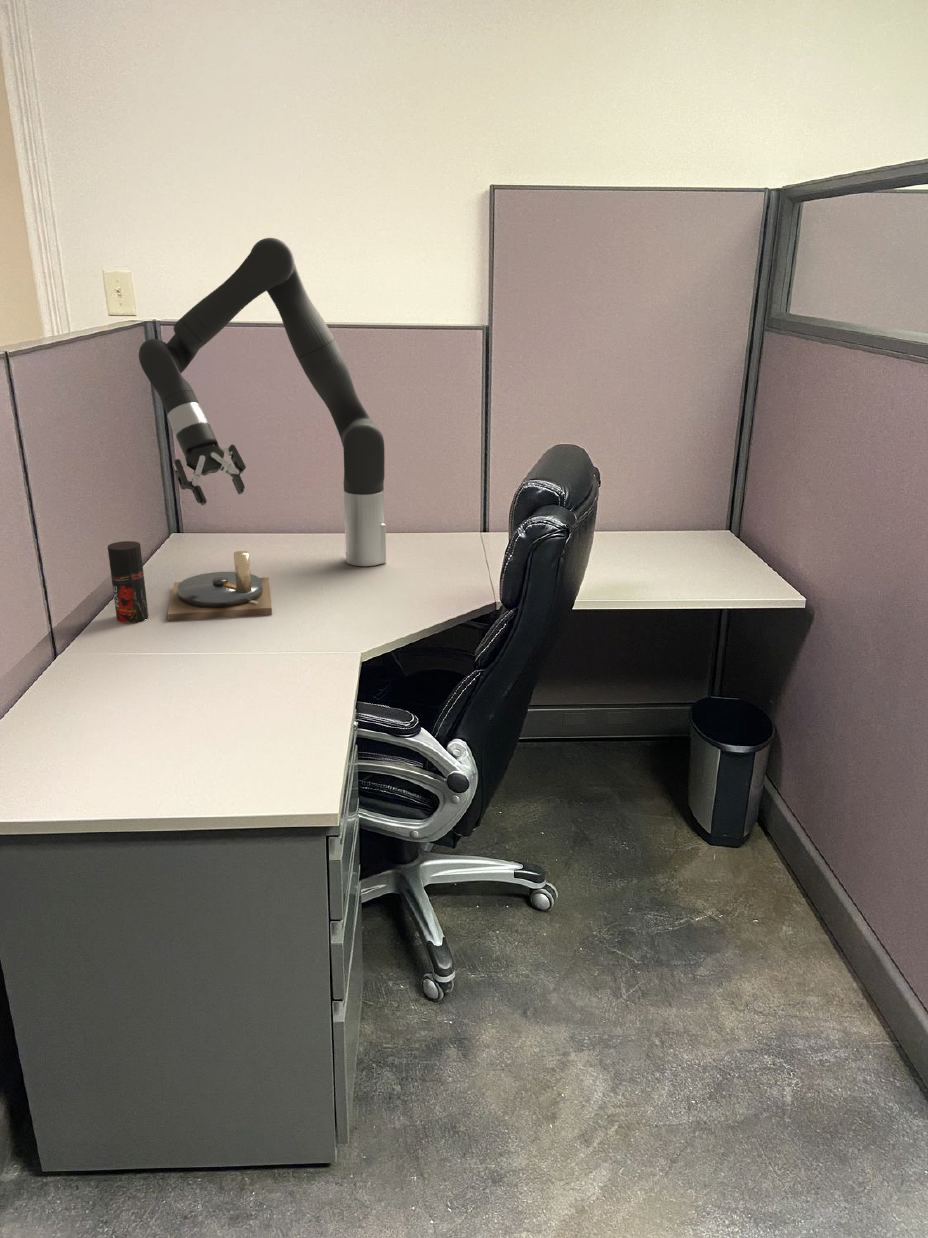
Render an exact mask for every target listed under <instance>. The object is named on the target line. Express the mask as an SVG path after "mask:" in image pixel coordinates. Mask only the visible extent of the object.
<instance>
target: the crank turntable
mask: <svg viewBox="0 0 928 1238" xmlns="http://www.w3.org/2000/svg"><path fill="white" fill-rule="evenodd" d="M233 561H234V563H233V564H234V571H214V572H207V573H202V574H201V573H200V574H197V575H193V576H190V577H188V578H186V579H183V580H182V581H179V582H180V584H179V585H178V595H179V599H180V600H181V601H182V602H184V603H186V604H189V605H194V606H200V607H226V606H233V605H239V604H243V603H247V602H250V601H252V600H254V599H256V598H258V597H259V596H260V595H261V594H262V593H263V587H262V580H261V579H260V578H261V577H259V576H257V575H255V574H252V573H251V567H250V565H251V563H250V562H251V561H250V552H249V551H247V550H238V551H234V552H233Z"/></svg>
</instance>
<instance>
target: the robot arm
mask: <svg viewBox="0 0 928 1238" xmlns="http://www.w3.org/2000/svg"><path fill="white" fill-rule="evenodd" d="M243 260H244V261H243V262H242V263H241V264H240V265H239V267H238V268H237V269H236V270H235V271H234V272H233V273H232V274H231V275H230V276H229V277H228V278H227V279H226V280H225V281H224V282H223V283H222V284H220V285H219V286H217V288H216V289H214V290H213V291H211V292H210V293H209V294H208V295H206V296H205V297H203V298H202V299H201V300H200V301H199V302H197V303H196V304H195V305H194V306H193V307H192V308H190V309H189V310H188V311H186V313H185V314H184V315H182V317H180V318H179V319H178V320H177V321H176V322H175V323H174V325H173V332H174V334H173V336H172V337H171V338H170V339H169V340H168V341H167V342H165V341H163V340H161V339H158V338H149V339H147V340H145V341H143V342H142V344H141V345H140V348H139V349H138V360H139V364H140V366H141V369H142V371H143V373H144V374H145V375H146V378H147V379H148V381H149V382H150V383H151V385H152V387H153V388H154V390H155V391H156V393H157V394H158V397H159V398H160V402H161V404H162V405H163V408H164V410H165V412H166V415H167V417H168V421H169V424H170V427H171V429H172V433H173V435H174V436H175V437H176V440H177V443H178V445H179V448H180V449H181V452H182V453H183V456H184V457H185V458H184V459H181V460H180V459H178V458H176V459H175V460H174V462H173V464H172V468H173V472H174V473H175V474H174V475H175V476H176V478H177V482H178V484H179V488H180V489H181V490H183V491H184V490H190V491H191V492H192V494H193V497H194V498H195V501H196V503H198V504H200V505H201V506H205V505H206V504H207V502H208V501H207V499H206V496H205V495H204V491H203V489H202V488H201V485H199V482H200V478H201V476H203V477H206V476H208V475H210V474H215V473H218V472H220V473H222V474H223V475H224V474H226V475H227V476H229V477H230V478H231V481H232V484H233V486H234V488H235V490H236V492H237V494H238V495H242V494H244V490H245V483H244V481H243V479H242V477H241V474H243V473H244V471H245V470H246V468H247V467H246V466H247V465H246V464H245V462H244V460H243V459H242V457H241V455H240V453H239V451H238V449H237V447H236V445H235V444H231V445H229V447H226V448H223V449H222V448H221V446H220V445H219V442H218V440H217V438H216V435H215V433H214V430H213V428H212V427H211V424H210V422H209V420H208V417H207V415H206V413H205V411H204V410H203V408H202V407H201V405H200V403H199V400H198V399H197V396H196V394H195V391H194V389H193V387H192V385H190V383H189V382H188V381H187V380H186V379H185V378H184V377H183V375H182V373H183V372H184V371H185V370H186V369H187V368H188V366H189V365H190V364H191V362H192V361H193V359H194V358H195V356H196V355H197V353H198V352H199V351H200V349H202V348H203V347H204V346H205V345H206V344H208V343H209V342H210V341H211V340H212V339H213V338H214V337H215V336H216V335H218V334H219V333H220V332H221V331H222V330H223V329H224V328H226V326H227V325H228V324H229V323H230V322H231V321H232V320H234V318H235V317H236V316H237V315H238V314H239V313H240V312H241V311H242V310H243V309H244V308H245V307H246V306H248V305H249V304H250V303H251V302H253V300H255V299H256V298H258V297H260V296H261V295H262V294H263V293H265V292H267V294H268V296H269V297H270V300H271V301H272V302H273V304H274V306H275V307H276V309H277V311H278V314H279V315H280V316H279V317H280V319H281V321H282V325H283V327H284V331H285V332H286V335H287V338H288V340H289V343H290V345H291V348H292V350H293V352H294V355H295V356H296V358H297V360H298V362H299V364H300V366H301V369H302V370H303V372H304V374H305V376H306V377H307V379H308V381H309V382H310V384H311V385H312V387H313V389H314V390H315V392H316V393H317V395H319V398H321V400H322V401H323V403H324V404H325V406H326V408H327V410H328V412H329V413H330V415H331V418H332V420H333V422H334V425H335V427H336V430H337V432H338V435H339V438H340V442H341V445H342V448H343V449H342V450H343V502H344V503H343V504H344V505H343V506H344V507H343V509H344V510H343V511H344V537H345V540H344V542H345V543H344V544H345V562H346V563H347V564H348V565H351V566H354V567H355V566H357V567H373V566H378V565H381V564H387V539H386V538H387V534H386V532H387V531H386V530H387V529H386V523H385V509H384V508H385V505H384V504H385V503H384V501H385V500H384V485H385V484H384V483H385V482H384V481H385V465H386V464H385V440H384V437H383V434H382V432H381V430H380V428H379V427H378V426H377V425H376V424H375V422H374V421H373V420H372V418H371V416H370V415H369V412H367V410H366V408H365V407H364V406H363V404H362V402H361V400H360V398H359V395H358V394H357V392H356V389H355V386H354V384H353V379H352V377H351V374H350V371H349V368H348V366H347V363H346V361H345V358H344V356H343V354H342V352H341V350H340V348H339V345H338V343H337V341H336V340H335V337H334V336H333V334H332V331H331V330H330V328H329V326H328V325H327V323H326V322H325V320H324V318H323V317H322V316H321V314H320V312H319V310H317V308H316V306H315V305H314V304H313V302H312V300H311V299H310V297H309V295H308V293H307V291H306V289H305V287H304V283H303V282H302V280H301V276H300V274H299V272H298V269H297V266H296V263H295V257H294V254H293V252H292V250H291V248H290V247H289V246H288V245H287V244H286V243H285V242H284V241H283V240H280V239H279V238H276V237H265V238H262V239H260V240H259V241H257V242H256V243H254V245H253V246H252V248H251V250H250V253H249V254H248V255H247V256H246V258H244V259H243ZM225 456H227V458H229V459H230V460H231V462H232V463H233V465H232V463H230V462H229V461H227V460H226V459H224V457H225ZM186 467H188V468H189V469H191V470H193V472H192V476H191V480H188V477H187V475H186V472H185V469H186Z"/></svg>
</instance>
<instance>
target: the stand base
mask: <svg viewBox="0 0 928 1238" xmlns="http://www.w3.org/2000/svg"><path fill="white" fill-rule="evenodd" d="M259 578H260V579H261V580H262V587H263V593H262V594H261V595H260V596H259V597H258V598H256V599H254V600H252V601H250V602H247V603H243V604H239V605H233V606H226V607H200V606H194V605H189V604H186V603H184V602H182V601H181V600H180V599H179V595H178V585H179V584H180V582H181V581H174V582H173V587H172V591H171V597H170V601H169V607H168V612H167V618H168V622H178V621H180V622H181V621H194V620H211V619H227V618H241V617H243V618H244V617H256V616H259V617H260V616H269V615H270V616H272V615H273V608H272V597H271V588H270V587H271V586H270V577H269V576H268V577H264V576H263V577H259Z"/></svg>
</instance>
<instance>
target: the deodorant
mask: <svg viewBox="0 0 928 1238" xmlns="http://www.w3.org/2000/svg"><path fill="white" fill-rule="evenodd" d="M107 553H108V561H109V569H110V575H111V577H110V578H111V584H112V592H113V598H114V608H115V614H116V615H115V617H116V621H117V622H118V623H119V624H127V625H128V624H129V625H131V624H138V622H139V623H141V622H145V621H146V620H145V619H147V620H148V619H149V617H148V616H149V609H148V601H147V591H146V585H145V584H146V583H145V581H146V580H145V575H144V574H145V573H144V567H143V557H142V556H143V555H142V548H141V543H140V542H138V541H132V540H131V541H129V540H125V541H124V540H123V541H117V542H116V541H115V542H113V543H110V544H108V545H107ZM144 620H145V621H144Z"/></svg>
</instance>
